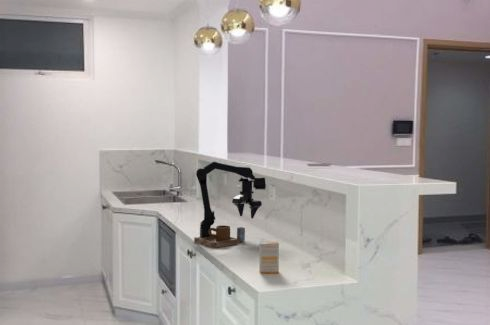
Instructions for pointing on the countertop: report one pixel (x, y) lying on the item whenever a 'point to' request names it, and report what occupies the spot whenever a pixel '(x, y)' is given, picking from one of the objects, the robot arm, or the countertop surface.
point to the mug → (220, 233)
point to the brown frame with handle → (223, 243)
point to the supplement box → (269, 257)
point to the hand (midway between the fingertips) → (246, 217)
